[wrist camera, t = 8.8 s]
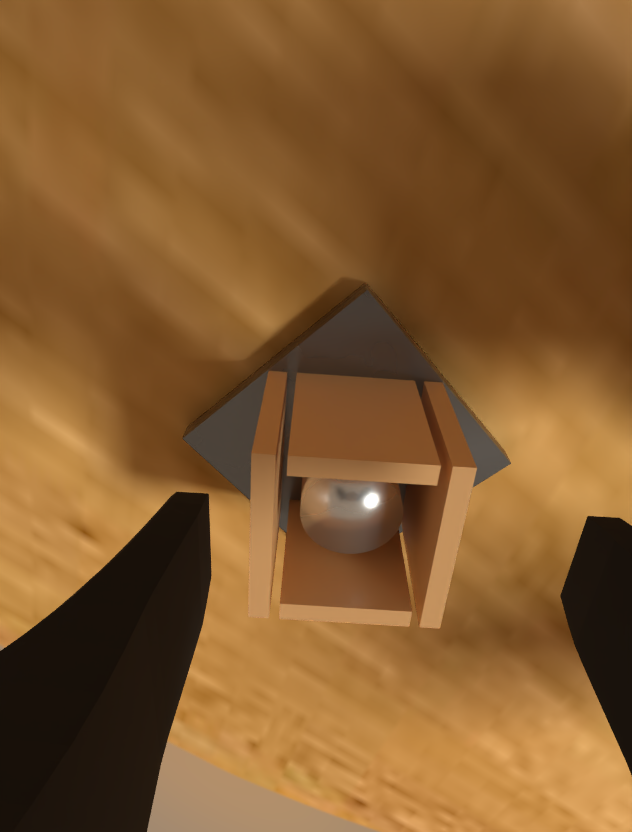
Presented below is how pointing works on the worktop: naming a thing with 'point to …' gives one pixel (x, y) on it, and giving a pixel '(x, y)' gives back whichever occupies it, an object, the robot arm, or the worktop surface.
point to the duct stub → (239, 412)
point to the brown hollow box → (364, 461)
